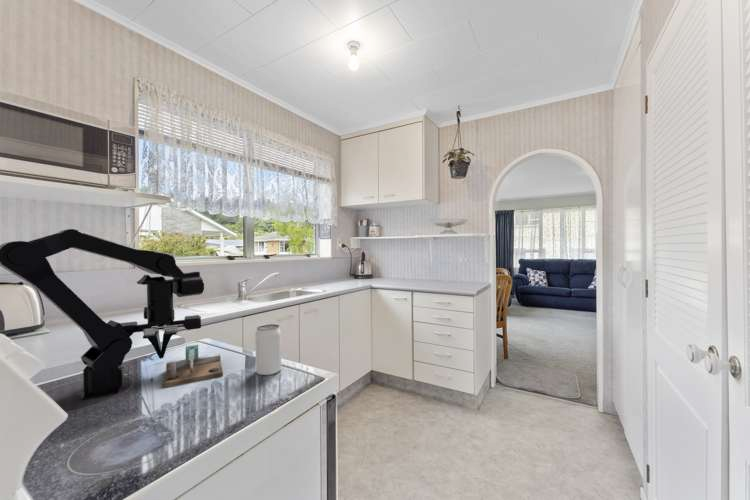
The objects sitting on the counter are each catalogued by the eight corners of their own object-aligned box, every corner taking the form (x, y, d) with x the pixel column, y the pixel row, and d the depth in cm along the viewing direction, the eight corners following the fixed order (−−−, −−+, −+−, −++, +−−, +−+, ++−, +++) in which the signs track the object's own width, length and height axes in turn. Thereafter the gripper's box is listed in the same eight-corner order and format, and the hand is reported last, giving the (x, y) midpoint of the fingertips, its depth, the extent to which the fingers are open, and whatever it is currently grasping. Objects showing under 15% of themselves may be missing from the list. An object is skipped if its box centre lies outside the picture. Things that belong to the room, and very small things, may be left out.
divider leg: (184, 374, 79) (184, 357, 79) (186, 361, 88) (185, 346, 88) (198, 371, 81) (198, 355, 81) (198, 359, 89) (198, 344, 89)
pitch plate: (162, 387, 75) (162, 369, 75) (167, 370, 86) (166, 354, 85) (222, 376, 81) (222, 358, 81) (220, 361, 92) (219, 346, 92)
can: (256, 368, 86) (256, 325, 86) (281, 365, 88) (280, 323, 88) (255, 377, 80) (254, 331, 80) (281, 374, 82) (280, 328, 82)
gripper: (200, 293, 95) (201, 344, 95) (122, 298, 86) (123, 355, 86) (200, 298, 85) (201, 355, 86) (112, 305, 76) (114, 369, 76)
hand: (161, 358), depth 84 cm, fingers closed
